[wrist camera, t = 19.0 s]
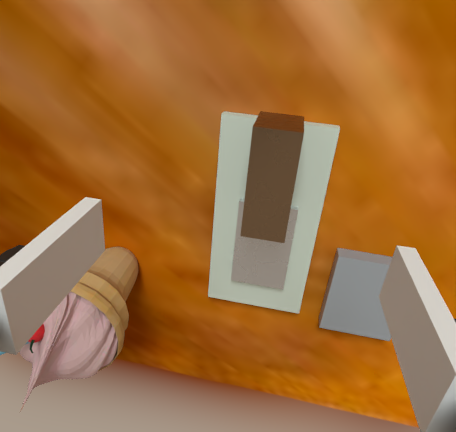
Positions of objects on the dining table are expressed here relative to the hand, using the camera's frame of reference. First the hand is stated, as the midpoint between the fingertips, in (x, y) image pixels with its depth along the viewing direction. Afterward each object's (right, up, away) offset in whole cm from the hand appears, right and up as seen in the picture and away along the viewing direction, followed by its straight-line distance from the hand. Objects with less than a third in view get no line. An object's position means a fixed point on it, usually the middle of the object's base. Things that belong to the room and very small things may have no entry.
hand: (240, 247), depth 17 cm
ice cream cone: (-14, -4, +30) cm, 34 cm away
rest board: (+4, +1, +24) cm, 24 cm away
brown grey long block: (+4, +2, +22) cm, 22 cm away
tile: (+15, -3, +23) cm, 28 cm away
